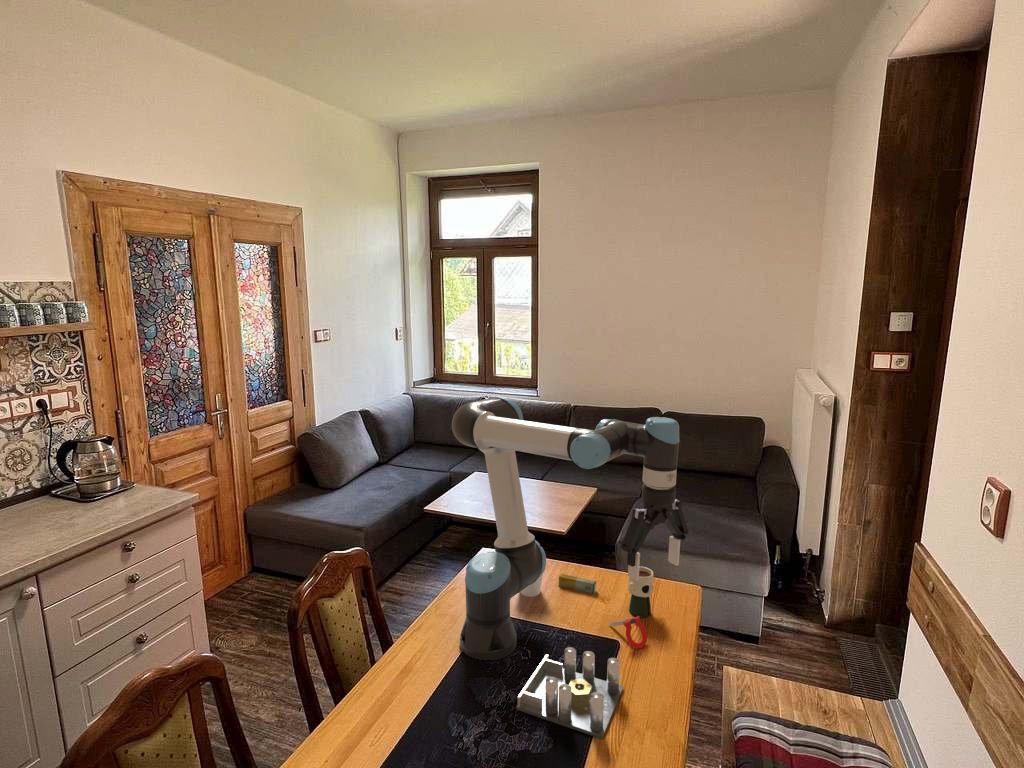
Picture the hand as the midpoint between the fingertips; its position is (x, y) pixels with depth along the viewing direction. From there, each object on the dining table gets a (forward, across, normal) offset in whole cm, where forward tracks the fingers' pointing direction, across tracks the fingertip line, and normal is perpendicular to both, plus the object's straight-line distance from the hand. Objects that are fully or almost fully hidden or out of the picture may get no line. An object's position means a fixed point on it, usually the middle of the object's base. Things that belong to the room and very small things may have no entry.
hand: (653, 570), depth 133 cm
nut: (+27, -20, +2) cm, 34 cm away
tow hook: (+30, +7, +12) cm, 34 cm away
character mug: (+28, +19, +21) cm, 40 cm away
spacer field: (+28, -21, +4) cm, 35 cm away
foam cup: (+29, -2, +48) cm, 56 cm away
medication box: (+29, +12, +41) cm, 52 cm away
